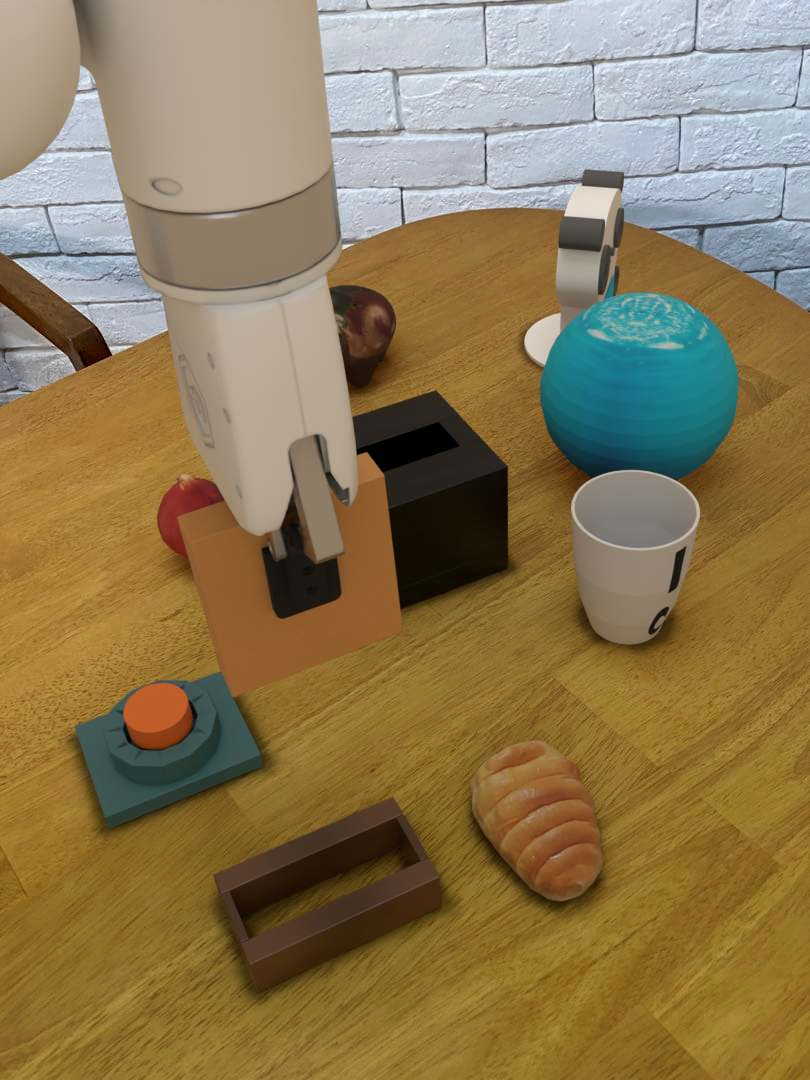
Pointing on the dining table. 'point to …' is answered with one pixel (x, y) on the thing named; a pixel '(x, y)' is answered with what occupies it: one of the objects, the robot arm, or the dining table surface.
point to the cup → (632, 550)
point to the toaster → (437, 495)
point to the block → (168, 753)
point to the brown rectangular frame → (337, 920)
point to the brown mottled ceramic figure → (362, 330)
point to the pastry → (539, 818)
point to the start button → (158, 716)
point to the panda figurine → (583, 256)
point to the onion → (184, 507)
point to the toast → (244, 599)
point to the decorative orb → (639, 387)
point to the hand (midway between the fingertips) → (297, 585)
